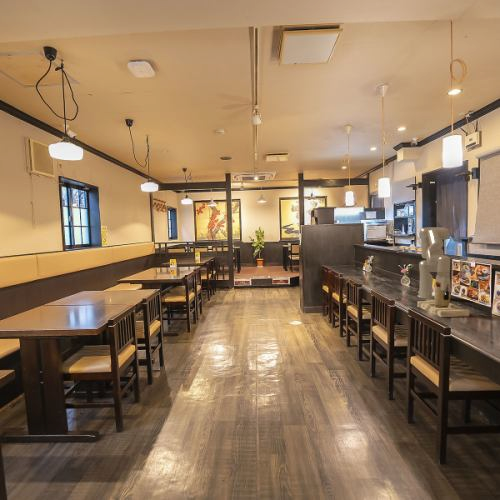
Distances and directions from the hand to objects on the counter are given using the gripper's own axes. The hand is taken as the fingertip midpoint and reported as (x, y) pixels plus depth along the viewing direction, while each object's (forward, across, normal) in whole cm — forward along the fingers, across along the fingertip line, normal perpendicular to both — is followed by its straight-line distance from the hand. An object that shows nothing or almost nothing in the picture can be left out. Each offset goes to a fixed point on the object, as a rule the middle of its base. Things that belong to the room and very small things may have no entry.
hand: (442, 298), depth 218 cm
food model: (+7, 0, 0) cm, 7 cm away
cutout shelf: (+9, 0, 0) cm, 9 cm away
